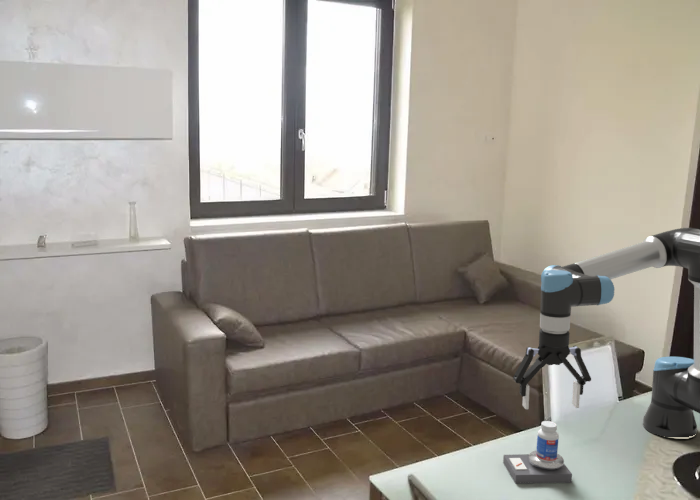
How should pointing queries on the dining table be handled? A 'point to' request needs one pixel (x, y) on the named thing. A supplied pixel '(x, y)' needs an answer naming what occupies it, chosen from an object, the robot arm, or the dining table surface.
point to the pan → (546, 465)
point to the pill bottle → (547, 442)
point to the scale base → (534, 471)
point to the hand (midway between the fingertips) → (550, 406)
